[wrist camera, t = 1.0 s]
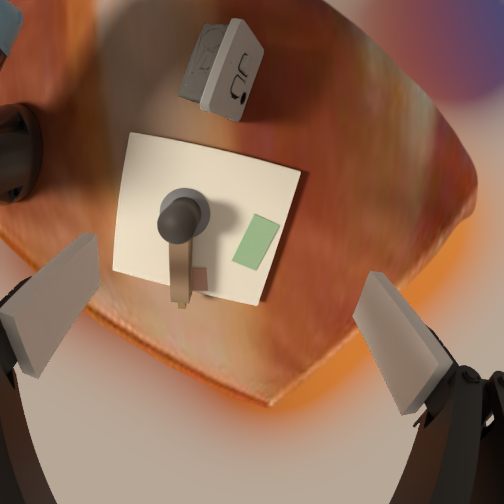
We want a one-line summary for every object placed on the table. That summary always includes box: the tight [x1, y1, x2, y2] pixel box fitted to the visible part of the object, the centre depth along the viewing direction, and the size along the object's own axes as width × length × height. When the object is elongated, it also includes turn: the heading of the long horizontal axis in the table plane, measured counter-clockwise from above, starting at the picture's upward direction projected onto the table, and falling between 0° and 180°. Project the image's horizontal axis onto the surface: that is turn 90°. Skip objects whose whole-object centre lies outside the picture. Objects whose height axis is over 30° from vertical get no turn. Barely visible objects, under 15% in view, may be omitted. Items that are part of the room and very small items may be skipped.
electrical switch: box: [178, 18, 264, 122], centre depth 24 cm, size 9×5×9 cm, turn 162°
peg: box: [157, 197, 201, 309], centre depth 32 cm, size 14×4×4 cm, turn 175°
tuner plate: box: [113, 132, 301, 306], centre depth 34 cm, size 20×18×2 cm
